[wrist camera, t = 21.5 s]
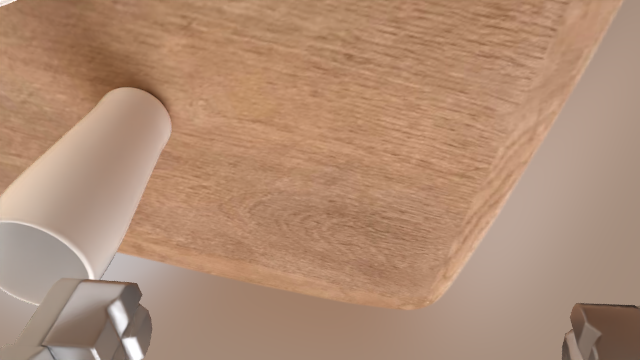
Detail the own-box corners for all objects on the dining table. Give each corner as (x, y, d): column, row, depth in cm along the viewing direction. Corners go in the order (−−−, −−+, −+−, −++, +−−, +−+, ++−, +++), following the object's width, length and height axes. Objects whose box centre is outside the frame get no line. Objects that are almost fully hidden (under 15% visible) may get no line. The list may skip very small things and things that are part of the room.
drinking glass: (105, 56, 39) (-27, 196, 28) (197, 103, 41) (109, 255, 29) (82, 128, 43) (-42, 277, 32) (167, 169, 45) (78, 326, 33)
